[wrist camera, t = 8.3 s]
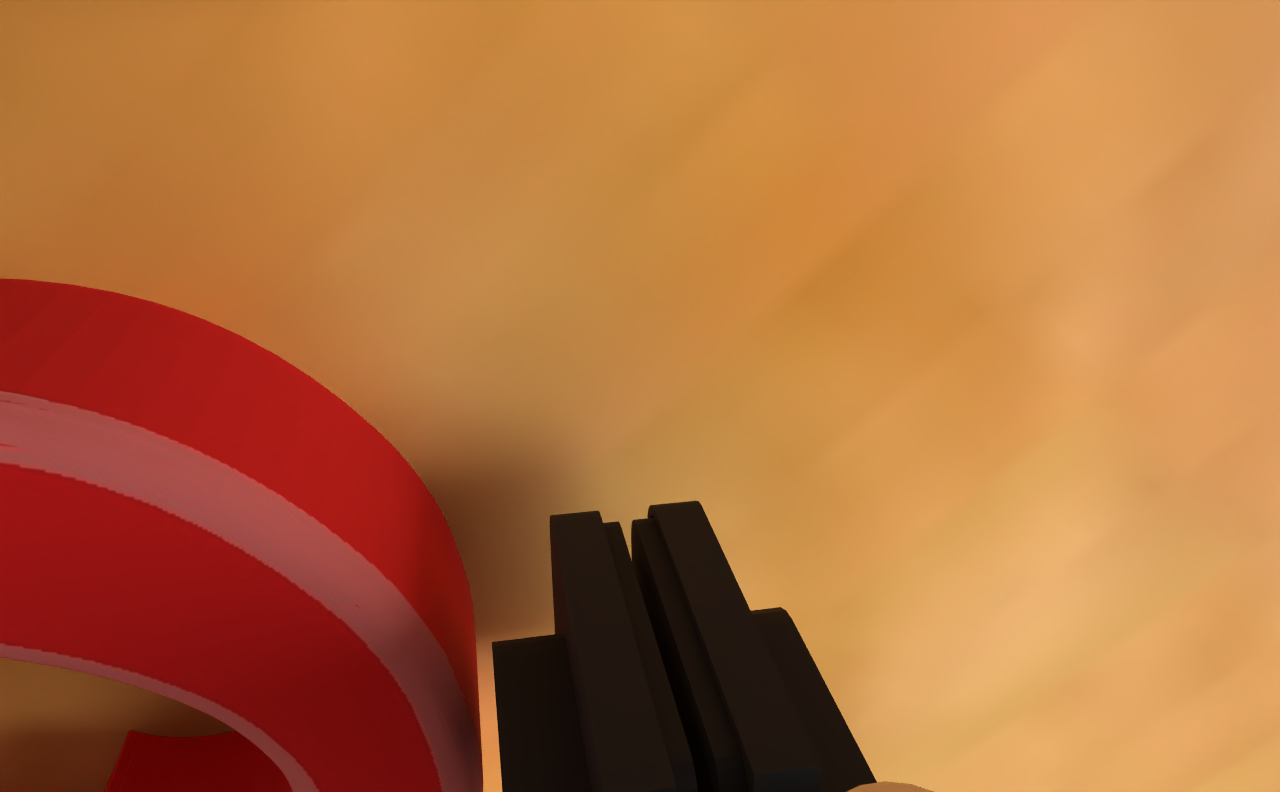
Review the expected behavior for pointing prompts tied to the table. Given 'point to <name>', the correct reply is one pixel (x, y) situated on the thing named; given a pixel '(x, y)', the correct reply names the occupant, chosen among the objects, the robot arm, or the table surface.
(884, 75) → the table surface
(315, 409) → the decorative ornament
